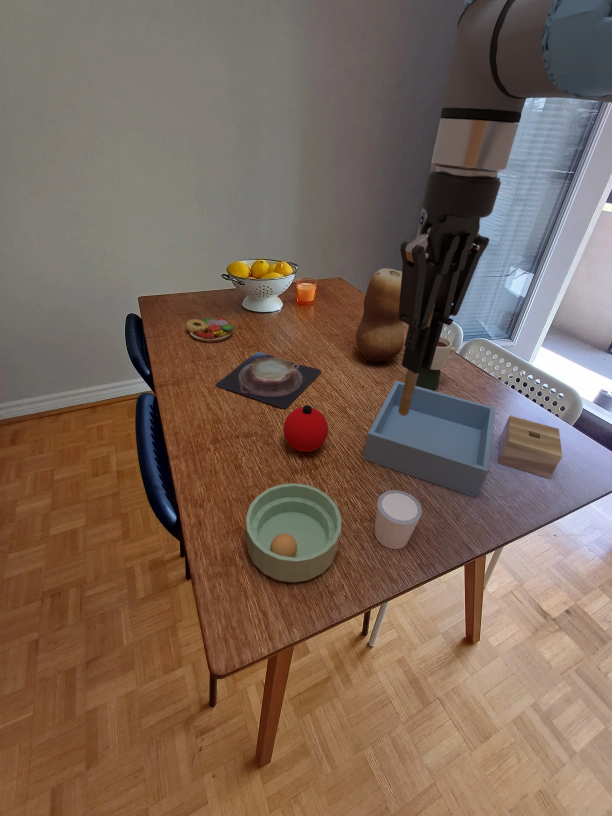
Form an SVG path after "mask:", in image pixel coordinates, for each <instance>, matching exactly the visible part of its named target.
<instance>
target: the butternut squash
mask: <svg viewBox="0 0 612 816" xmlns="http://www.w3.org/2000/svg"><path fill="white" fill-rule="evenodd" d="M401 279H402V270H397V269H393V268H387V267H385V268H384V267H383V268H380V269H378V270H377V271H375V272H374V273H373V274H372V275H371V278H370V280H369V282H368V286H367V289H366V291H365V295H364V300H363V314H362V318H361V320H360V323H359V324H358V327H357V329H356V331H355V332H356V333H355V342H356V346H357V350H358V351H359V353H360V354H361V355H362V356H363V357H364V359H366V360H367V361H368V362H371V363H380V362H385V361H388V360H391V359H393V358H394V357H396V356H397V355H398V354H400V352H401V351H402V350H403V346H404V339H405V332H404V322H402V321H400V320H399V319H398V314H399V302H400V291H401Z"/></svg>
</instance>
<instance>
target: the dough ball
mask: <svg viewBox="0 0 612 816" xmlns="http://www.w3.org/2000/svg"><path fill="white" fill-rule="evenodd" d="M270 551H271V552H273V553H276V554H278V555H280V556H288V557H294V556H295V555H296V552H297V543H296V541H295V539H294V538H293V537H292V536H291V535H288V534H280V535H277V536H276V537H275V538H274V539H273V540H272V542H271V546H270Z"/></svg>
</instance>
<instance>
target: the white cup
mask: <svg viewBox="0 0 612 816" xmlns="http://www.w3.org/2000/svg"><path fill="white" fill-rule="evenodd" d="M421 505H422V504H420V501H419V500H418V499H416V497H414V496H413V494H410V493H408V492H406V491H403V490H399V489H391V490H386V491H385V492H383V493H381V494H380V496H379V497H378V499H377V505H376V515H375V524H374V536H375V539H376V541H378V542H379V543H380V545H382V546H384V547H386V548H387V549H392V550H400V549H402V548H404V547H406V546H407V545H408V542H409V541H410V538H411V537H412V534H413V532H414V530H415V529H416V526H417V525H418V522H419V521H420V519H421V516H422V515H423V508H422V506H421Z"/></svg>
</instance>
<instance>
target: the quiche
mask: <svg viewBox="0 0 612 816" xmlns="http://www.w3.org/2000/svg"><path fill="white" fill-rule="evenodd" d="M321 372H322V370H321V369H319V368H315V367H311V366H308V365H304V364H300V363H299V364H298V363H295V362H292V361H290V360H287V359H284V358H282V357H279V356H274V355H271V354H267V353H265V352H262V351H257V352H255V353H253V354H252V355H251V356H249V357H248V358H247V359H245V360H244V361H242V362H241V363H240V364H239V365H238V366H237V367H235V368H234V369H233V370H231V371H230V372H229V373H228V374H227V375H226V376H224V377H223V378H221V379H220V380H219V381H217V382H216V383H215V387H217V388H221V389H224V390H227V391H231V392H235V393H237V394H240V395H243V396H246V397H249V398H252V399H255V400H258V401H260V402H263V403H265V404H268V405H271V406H273V407H277V408H279V409H287V408H288V407H289V406H291V404H293V402H295V400H297V399H298V397H300V395H301V394H302V393H303V392H304V391H305V390H306V389H307V388H308V387H309V386H310V385H311V384H312V382H314V380H316V378H317V377H318V376H319V375H320V374H321Z"/></svg>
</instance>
